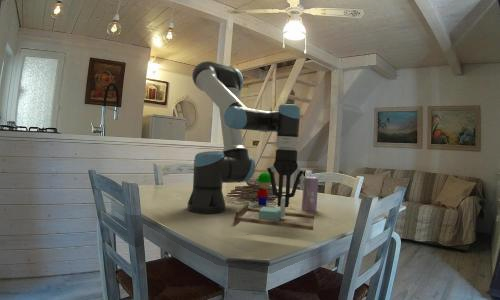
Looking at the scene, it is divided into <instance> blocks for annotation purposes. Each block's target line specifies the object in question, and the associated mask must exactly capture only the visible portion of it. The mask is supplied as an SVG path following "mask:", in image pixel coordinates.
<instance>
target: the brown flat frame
mask: <svg viewBox="0 0 500 300" xmlns="http://www.w3.org/2000/svg"><path fill="white" fill-rule="evenodd" d="M260 209H261V208H254V207H253V208H252V207H251V208H250V207H249V204H247V203H245V204H244V205H242V206H241V207H239V209H237V210H236V211H235V214H234V217H233V224H234V225H238V224H239V223H241V222H250V223H255V224H257V223H258V224H266V225H274V226H280V227H281V226H282V227H290V228H300V229H306V230H314V224H315V223H314V222H315V215H314V214H308V213H306V214H304V213H299V212H288V211H285V216H289V217H290V216H291V217H296V219H292V218H291V219H290V218H285V217H281V218H280V220H279V221H271V220H262V219H259V210H260Z"/></svg>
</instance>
